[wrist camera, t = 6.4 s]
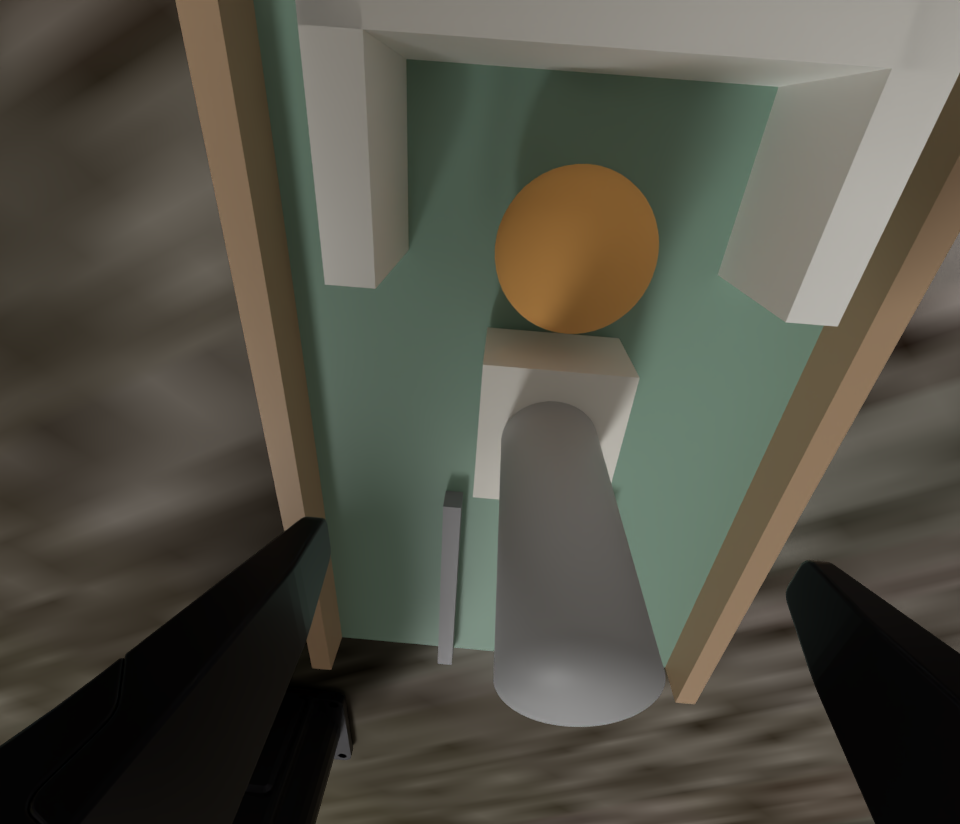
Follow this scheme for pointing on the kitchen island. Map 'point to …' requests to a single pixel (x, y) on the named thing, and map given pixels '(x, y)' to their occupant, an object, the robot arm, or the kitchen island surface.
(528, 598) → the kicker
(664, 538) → the pitch
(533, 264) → the ball
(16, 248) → the kitchen island surface
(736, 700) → the kitchen island surface
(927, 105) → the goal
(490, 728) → the kitchen island surface
